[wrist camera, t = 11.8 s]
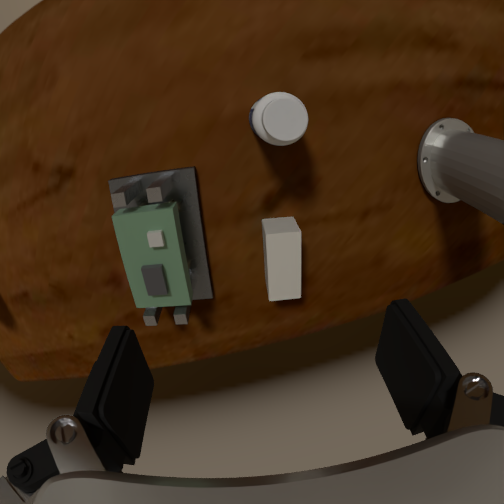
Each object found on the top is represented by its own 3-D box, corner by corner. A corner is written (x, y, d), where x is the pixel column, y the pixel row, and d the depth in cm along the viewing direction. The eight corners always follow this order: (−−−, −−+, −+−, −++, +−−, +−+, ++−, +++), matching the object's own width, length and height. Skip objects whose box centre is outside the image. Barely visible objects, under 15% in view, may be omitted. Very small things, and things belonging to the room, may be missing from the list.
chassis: (194, 166, 35) (186, 178, 29) (213, 294, 43) (210, 325, 37) (111, 179, 35) (87, 193, 28) (140, 299, 43) (127, 329, 36)
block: (293, 216, 38) (301, 231, 34) (294, 277, 42) (300, 298, 38) (261, 219, 38) (265, 234, 34) (265, 280, 42) (269, 301, 38)
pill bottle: (279, 148, 35) (295, 161, 26) (240, 125, 33) (242, 129, 24) (303, 111, 33) (327, 111, 24) (264, 87, 31) (275, 78, 23)
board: (176, 201, 33) (171, 210, 30) (193, 293, 38) (190, 308, 35) (119, 209, 33) (109, 218, 30) (141, 296, 38) (135, 311, 35)
